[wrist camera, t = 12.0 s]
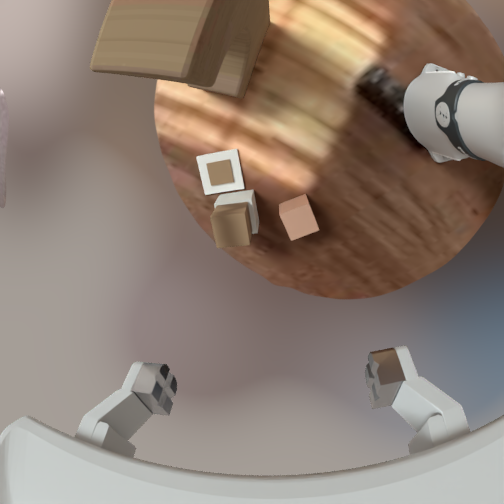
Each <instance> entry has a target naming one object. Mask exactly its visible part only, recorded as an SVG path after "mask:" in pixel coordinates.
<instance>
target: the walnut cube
mask: <svg viewBox="0 0 504 504" xmlns="http://www.w3.org/2000/svg"><path fill="white" fill-rule="evenodd" d="M210 219H211V224H212V228H213V233H214V237H215V242H216V246H217V248H224V247H234V246H245V245H250V242H251V236H252V225H251V218H250V212H249V206H248V202H241V203H233V204H225V205H217V206H216V208H215V210H214V211H213V213H212V215H211V217H210Z"/></svg>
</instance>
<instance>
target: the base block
mask: <svg viewBox="0 0 504 504" xmlns="http://www.w3.org/2000/svg"><path fill="white" fill-rule="evenodd" d="M241 202H248V206H249V212H250V218H251V225H252V234H255V233H258V227H259V217H258V211H257V206H256V200H255V195H254V190H247V191H241V192H234V193H228V194H222V195H219V197H218V199H217V200H216V202H215V204H214V206H215V208H216V206H217V205H225V204H233V203H241Z"/></svg>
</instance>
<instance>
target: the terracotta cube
mask: <svg viewBox="0 0 504 504" xmlns="http://www.w3.org/2000/svg"><path fill="white" fill-rule="evenodd" d="M279 215H280V217H281V219H282V221H283V224H284V226H285V228H286V230H287V233H288V235H289V237H290V239H291V241H292V240H295V239H297V238H300V237H303V236H305V235H308V234H311V233H313V232H316V231H319V227H318V224H317V221H316V218H315V216H314V213H313V211H312V208H311V206H310V203H309V201H308V198H307V196H306V194H304V195H301V196H299V197H296V198H294V199H291V200H289V201H286V202H283V203H281V204H279Z"/></svg>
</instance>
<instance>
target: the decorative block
mask: <svg viewBox="0 0 504 504" xmlns="http://www.w3.org/2000/svg"><path fill="white" fill-rule="evenodd" d="M269 24H270V14H269V0H112V1H111V3H110V6H109V9H108V11H107V14H106V17H105V19H104V22H103V24H102V27H101V30H100V33H99V36H98V39H97V43H96V46H95V49H94V52H93V56H92V60H91V64H90V69H91V70H92V71H94V72H101V73H112V74H120V75H128V76H135V77H144V78H153V79H161V80H168V81H174V82H181V83H186V84H188V86H189V87H193V88H197V89H202V90H206V91H211V92H216V93H220V94H224V95H229V96H233V97H237V98H240V99H241V98H243V97H244V95H245V92H246V89H247V86H248V83H249V80H250V77H251V74H252V71H253V68H254V65H255V63H256V60H257V57H258V54H259V51H260V48H261V46H262V43H263V40H264V37H265V35H266V32H267V29H268V27H269Z"/></svg>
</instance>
